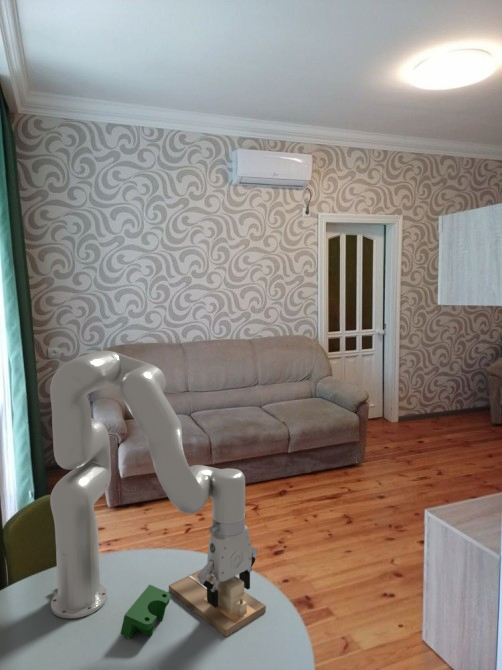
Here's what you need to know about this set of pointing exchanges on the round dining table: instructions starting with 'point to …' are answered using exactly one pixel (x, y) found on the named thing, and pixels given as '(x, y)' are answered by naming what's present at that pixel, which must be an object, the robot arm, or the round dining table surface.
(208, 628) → the round dining table surface
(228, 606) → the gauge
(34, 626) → the round dining table surface
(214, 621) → the board
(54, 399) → the robot arm
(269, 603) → the round dining table surface
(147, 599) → the clamp
